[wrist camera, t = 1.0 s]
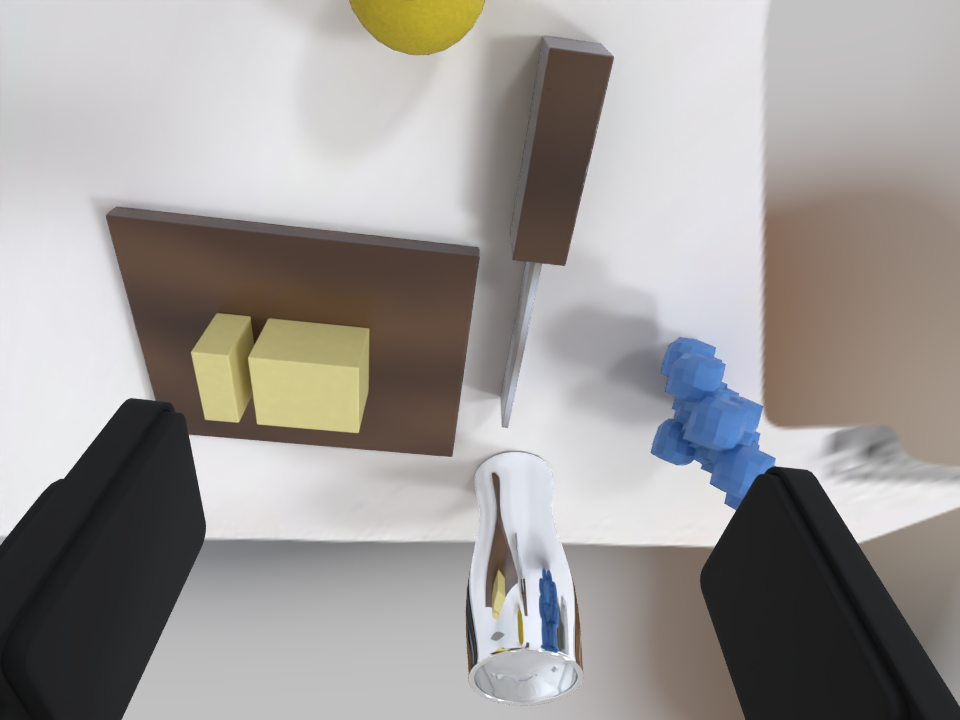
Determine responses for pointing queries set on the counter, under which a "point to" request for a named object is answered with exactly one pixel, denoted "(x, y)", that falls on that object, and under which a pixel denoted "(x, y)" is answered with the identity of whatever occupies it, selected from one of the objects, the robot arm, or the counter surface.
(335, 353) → the butter block
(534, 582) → the beer glass
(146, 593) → the robot arm
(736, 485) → the grapes
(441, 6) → the lemon
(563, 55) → the knife
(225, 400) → the butter slice
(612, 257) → the counter surface
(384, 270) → the board
